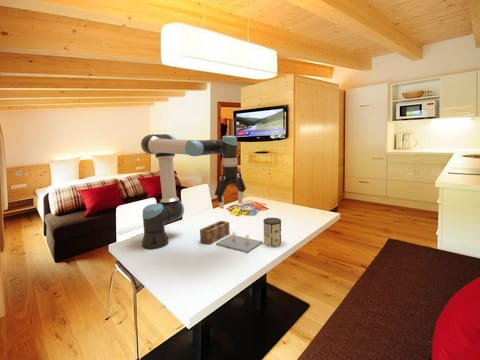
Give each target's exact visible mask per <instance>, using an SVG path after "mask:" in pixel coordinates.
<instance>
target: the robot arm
mask: <svg viewBox="0 0 480 360" xmlns="http://www.w3.org/2000/svg"><path fill="white" fill-rule="evenodd" d="M221 138H222V139H206V140H202V139H201V140H199V139H197V140H196V139H194V140H193V139H192V140H191V139H176V137H174V135H173V134H168V133H165V134H161V133H160V134H159V133H157V134H153V133H152V134H148V135H146V136H144V137H142V139H141V142H140V147H141V149H142V151H143V152H144V153H146V154H147V155H155V158H156V159H157V161H158V169H159V177H160V179H159V180H160V187H161V197H162V198H161V200H160V201H159V203H153V204H152V203H151V204H148V205H147V206H144V208H143V209H142V216H141V217H142V221H143V223H142V224H143V237H142V240H141V246H142V248H144V249H147V250H152V249H153V250H155V249H161V248H163V247H166V246H168V245H169V237H168V235H167V233H166V229H165V225H166V224H170V223H171V222H175V221H177V220H179V219H181V218H182V217H183V215H184V214H185V206H184V204H183V202H182V201H180V198H179V197H178V196H177V189H176V180H175V170H174V169H175V168H174V158H175V157H176V155H183V156H184V155H185V156H187V155H188V156H190V157H200V156H209V155H210V156H211V155H222V165H223V167H222V173H223V176H221V175H220V176H219V177H218V183H217V186H216V187H215V192H214V195H215V196H217V202H218V205H219V207H218V208H219V209H222V210H223V209H225V206H224V204H225V203H224V201H225V200H224V199H225V198H224V193H225V191H226V189H227V187H228V186H230V185H232V184H234V185H235V188H237V203H238V204H240V205H241V204H243V199H244V192H245V191H246V190H247V188H246V185H245V183H244V180H243V177H242V173H238V172H239V170H238V138H237V136H235V135H223V136H222V137H221Z"/></svg>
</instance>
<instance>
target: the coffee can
mask: <svg viewBox="0 0 480 360" xmlns="http://www.w3.org/2000/svg"><path fill="white" fill-rule="evenodd" d="M281 244H282V219H280V218H278V217H266V218H263V245H265V246H267V247H271V248H273V247H279V246H281Z"/></svg>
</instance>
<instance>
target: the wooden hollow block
mask: <svg viewBox="0 0 480 360" xmlns="http://www.w3.org/2000/svg"><path fill="white" fill-rule="evenodd" d="M230 230H231V229H230V221H225V220H219V221H217V222H214V223H211V224H210V225H208V226H205V227H203V228H201V229H199V240H200V243H202V244H206V245H212V244H213V243H215V242H216V243H217V241H219V240H222V239H224V238H226V237H228V236H230V234H231V233H230Z"/></svg>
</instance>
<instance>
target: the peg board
mask: <svg viewBox="0 0 480 360" xmlns="http://www.w3.org/2000/svg"><path fill="white" fill-rule="evenodd" d="M262 244H263V241H261V240H258V239H252V238H250V234H245V237H244V236H241V235H236V231H232V233H231V235H228V236H226V237H224V238H222V239H220V241H219V240H218V242H217V241H216V243H215V245H216V246H220V247H223V248H226V249H230V250H235V251H239V252H242V253H245V254H246V253H247V254H249V253H250V252H251V251H253V250H255V249H256V248H258V247H259V246H261V245H262Z"/></svg>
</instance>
